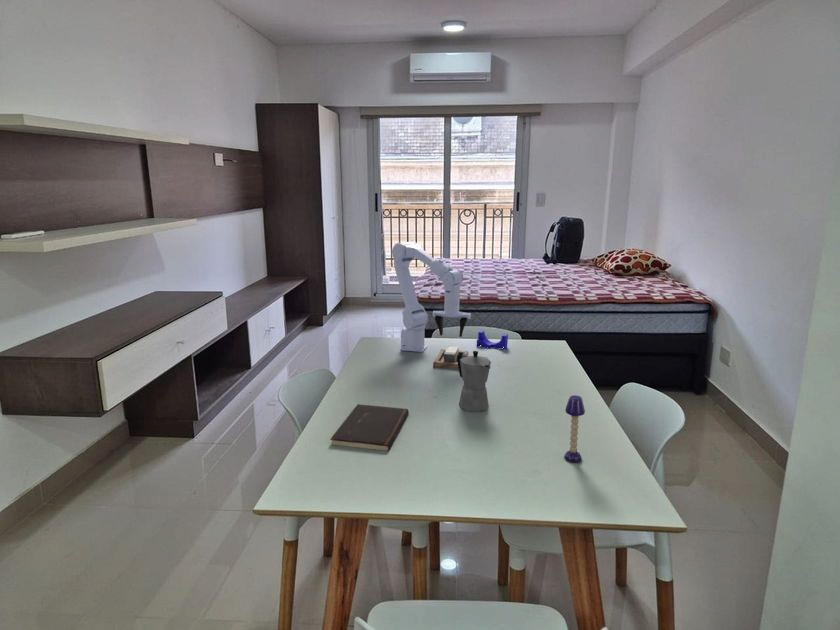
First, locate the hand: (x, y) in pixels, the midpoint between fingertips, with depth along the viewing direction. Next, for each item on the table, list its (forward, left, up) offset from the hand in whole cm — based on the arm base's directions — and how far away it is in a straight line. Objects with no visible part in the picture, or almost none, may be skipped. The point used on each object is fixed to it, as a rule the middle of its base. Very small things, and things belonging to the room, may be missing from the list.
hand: (451, 335), depth 209 cm
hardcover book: (-11, -65, -10) cm, 67 cm away
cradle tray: (+1, -4, -9) cm, 10 cm away
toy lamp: (+43, -70, -10) cm, 82 cm away
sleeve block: (+1, -4, -9) cm, 10 cm away
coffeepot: (+14, -43, -10) cm, 46 cm away
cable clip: (+14, +19, -10) cm, 26 cm away
